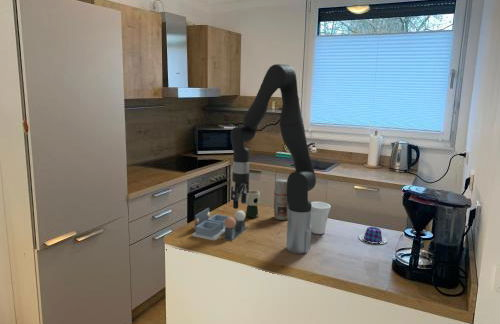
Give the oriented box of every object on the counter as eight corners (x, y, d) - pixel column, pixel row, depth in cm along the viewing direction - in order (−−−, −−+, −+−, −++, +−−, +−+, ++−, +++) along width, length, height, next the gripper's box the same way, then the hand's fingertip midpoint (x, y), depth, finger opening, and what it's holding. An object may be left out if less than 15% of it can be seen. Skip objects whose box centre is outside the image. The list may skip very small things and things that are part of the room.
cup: (322, 238, 174) (324, 210, 171) (302, 232, 180) (304, 205, 177) (332, 231, 182) (334, 204, 179) (313, 226, 188) (314, 200, 185)
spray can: (270, 218, 196) (271, 179, 192) (277, 214, 203) (278, 176, 199) (286, 222, 192) (288, 182, 188) (292, 217, 199) (294, 178, 195)
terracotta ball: (237, 227, 172) (238, 216, 171) (232, 231, 168) (232, 220, 167) (227, 225, 174) (227, 214, 173) (222, 229, 170) (222, 218, 169)
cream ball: (247, 220, 181) (247, 209, 180) (242, 223, 177) (242, 213, 176) (237, 218, 183) (237, 208, 182) (232, 221, 179) (232, 211, 178)
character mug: (252, 221, 192) (253, 195, 190) (240, 218, 196) (240, 193, 193) (263, 214, 202) (264, 190, 199) (251, 212, 205) (252, 188, 202)
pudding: (390, 239, 176) (391, 228, 175) (382, 248, 166) (383, 236, 165) (364, 232, 182) (365, 221, 181) (354, 240, 173) (355, 229, 172)
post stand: (247, 228, 183) (247, 219, 182) (232, 241, 168) (232, 230, 167) (237, 226, 184) (237, 217, 184) (221, 238, 170) (221, 228, 169)
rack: (234, 225, 186) (234, 216, 185) (214, 240, 168) (214, 231, 167) (214, 221, 190) (214, 213, 190) (192, 235, 172) (192, 226, 172)
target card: (209, 223, 187) (209, 207, 186) (195, 232, 176) (195, 215, 174) (208, 223, 187) (208, 207, 186) (194, 232, 176) (194, 215, 174)
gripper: (241, 175, 167) (240, 211, 171) (254, 168, 180) (253, 202, 183) (226, 173, 170) (225, 208, 174) (240, 166, 183) (238, 200, 186)
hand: (239, 205), depth 179 cm, fingers open, 8 cm apart
